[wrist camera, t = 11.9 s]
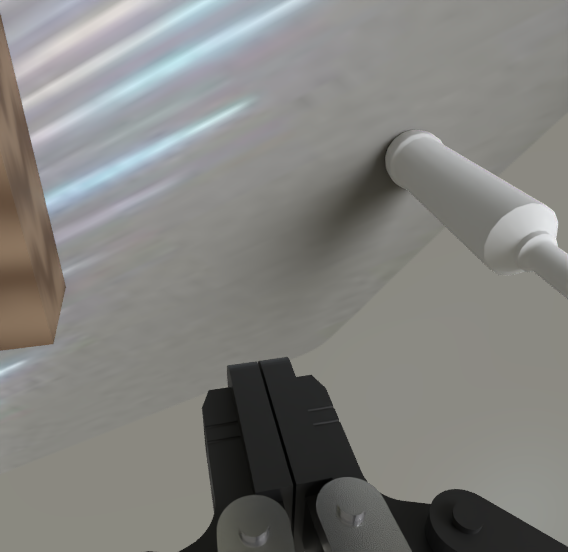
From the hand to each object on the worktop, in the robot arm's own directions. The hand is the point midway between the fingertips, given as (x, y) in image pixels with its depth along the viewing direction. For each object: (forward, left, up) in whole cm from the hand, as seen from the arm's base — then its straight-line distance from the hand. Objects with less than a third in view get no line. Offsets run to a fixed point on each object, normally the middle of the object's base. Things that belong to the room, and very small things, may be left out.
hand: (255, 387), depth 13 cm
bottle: (+6, +20, -32) cm, 38 cm away
